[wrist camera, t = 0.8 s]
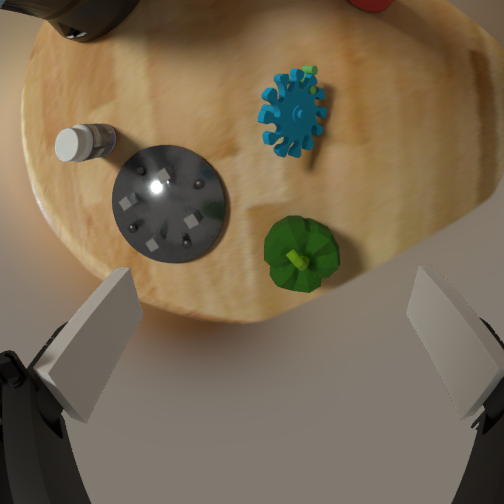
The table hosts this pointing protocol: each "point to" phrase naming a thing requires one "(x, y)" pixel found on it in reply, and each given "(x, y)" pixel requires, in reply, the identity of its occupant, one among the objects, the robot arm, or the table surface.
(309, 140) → the gear
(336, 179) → the table surface
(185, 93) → the table surface
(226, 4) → the table surface
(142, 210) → the hub
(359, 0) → the beer can
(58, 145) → the pill bottle
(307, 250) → the bell pepper
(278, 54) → the table surface
